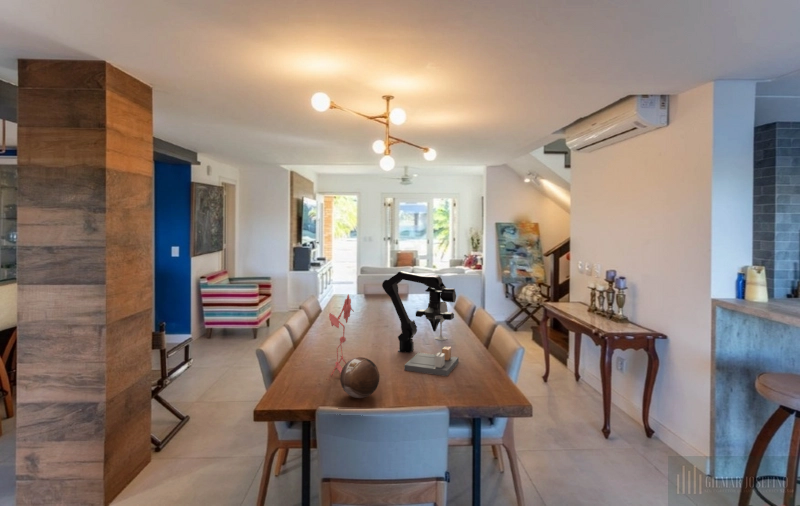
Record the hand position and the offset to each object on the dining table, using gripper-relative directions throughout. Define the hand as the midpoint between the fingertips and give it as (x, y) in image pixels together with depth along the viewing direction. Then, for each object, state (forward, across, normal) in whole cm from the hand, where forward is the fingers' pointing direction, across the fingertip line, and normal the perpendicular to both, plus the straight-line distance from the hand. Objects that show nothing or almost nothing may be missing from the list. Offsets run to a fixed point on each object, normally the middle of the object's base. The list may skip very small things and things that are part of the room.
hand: (434, 331), depth 219 cm
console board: (+12, +5, -18) cm, 22 cm away
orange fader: (+9, +11, -12) cm, 18 cm away
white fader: (+9, +11, -23) cm, 27 cm away
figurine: (+12, -26, -41) cm, 50 cm away
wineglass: (+12, -7, +30) cm, 33 cm away
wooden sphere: (+12, -8, -62) cm, 64 cm away
